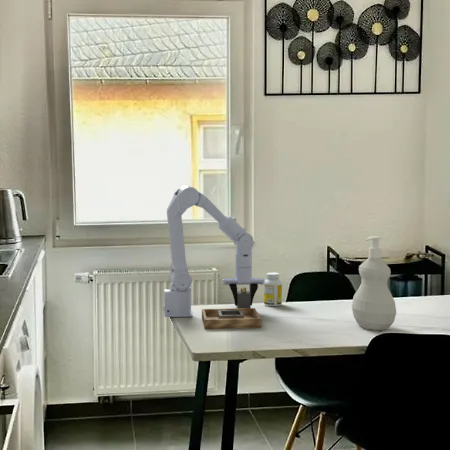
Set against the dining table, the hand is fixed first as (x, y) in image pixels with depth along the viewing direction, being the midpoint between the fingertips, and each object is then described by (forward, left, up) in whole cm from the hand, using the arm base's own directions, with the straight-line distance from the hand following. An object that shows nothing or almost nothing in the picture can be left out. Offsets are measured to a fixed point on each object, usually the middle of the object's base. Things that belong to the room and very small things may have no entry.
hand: (243, 305), depth 275 cm
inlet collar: (-6, -16, -2) cm, 17 cm away
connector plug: (0, 0, -2) cm, 2 cm away
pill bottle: (+12, +11, -3) cm, 16 cm away
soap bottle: (+39, -26, -3) cm, 47 cm away
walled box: (-6, -16, -2) cm, 17 cm away
